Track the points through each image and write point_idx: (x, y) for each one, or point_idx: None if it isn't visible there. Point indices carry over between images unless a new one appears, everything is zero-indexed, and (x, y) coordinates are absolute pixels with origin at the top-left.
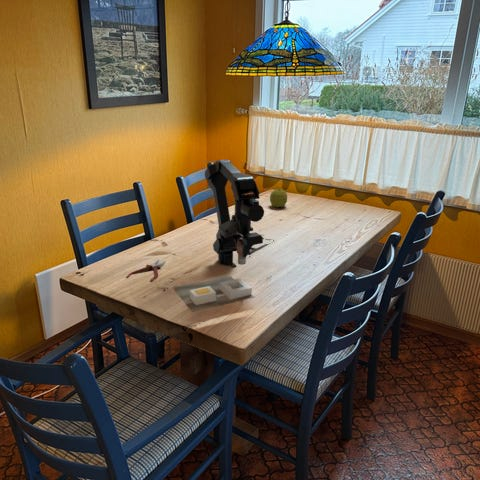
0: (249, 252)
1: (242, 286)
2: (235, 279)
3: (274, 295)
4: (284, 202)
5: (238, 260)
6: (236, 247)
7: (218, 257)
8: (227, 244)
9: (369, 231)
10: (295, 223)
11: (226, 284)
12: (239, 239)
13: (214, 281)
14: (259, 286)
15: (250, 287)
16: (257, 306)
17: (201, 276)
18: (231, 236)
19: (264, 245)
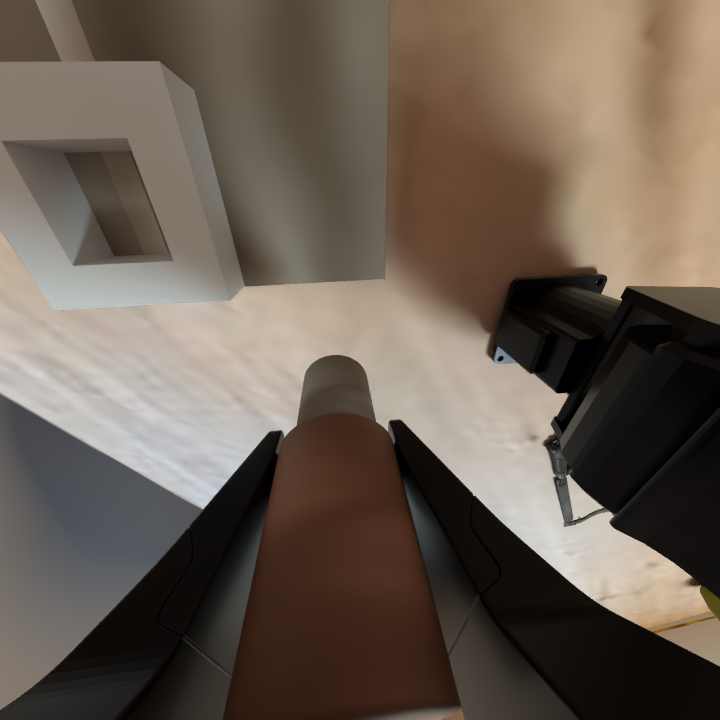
0: (555, 449)
1: (108, 262)
2: (215, 256)
3: (151, 396)
4: (711, 606)
5: (333, 372)
6: (432, 461)
7: (609, 297)
8: (637, 403)
9: None
10: (603, 579)
11: (113, 123)
12: (371, 714)
13: (345, 115)
14: (255, 374)
15: (60, 304)
16: (7, 278)
17: (521, 85)
18: (683, 667)
19: (563, 498)
